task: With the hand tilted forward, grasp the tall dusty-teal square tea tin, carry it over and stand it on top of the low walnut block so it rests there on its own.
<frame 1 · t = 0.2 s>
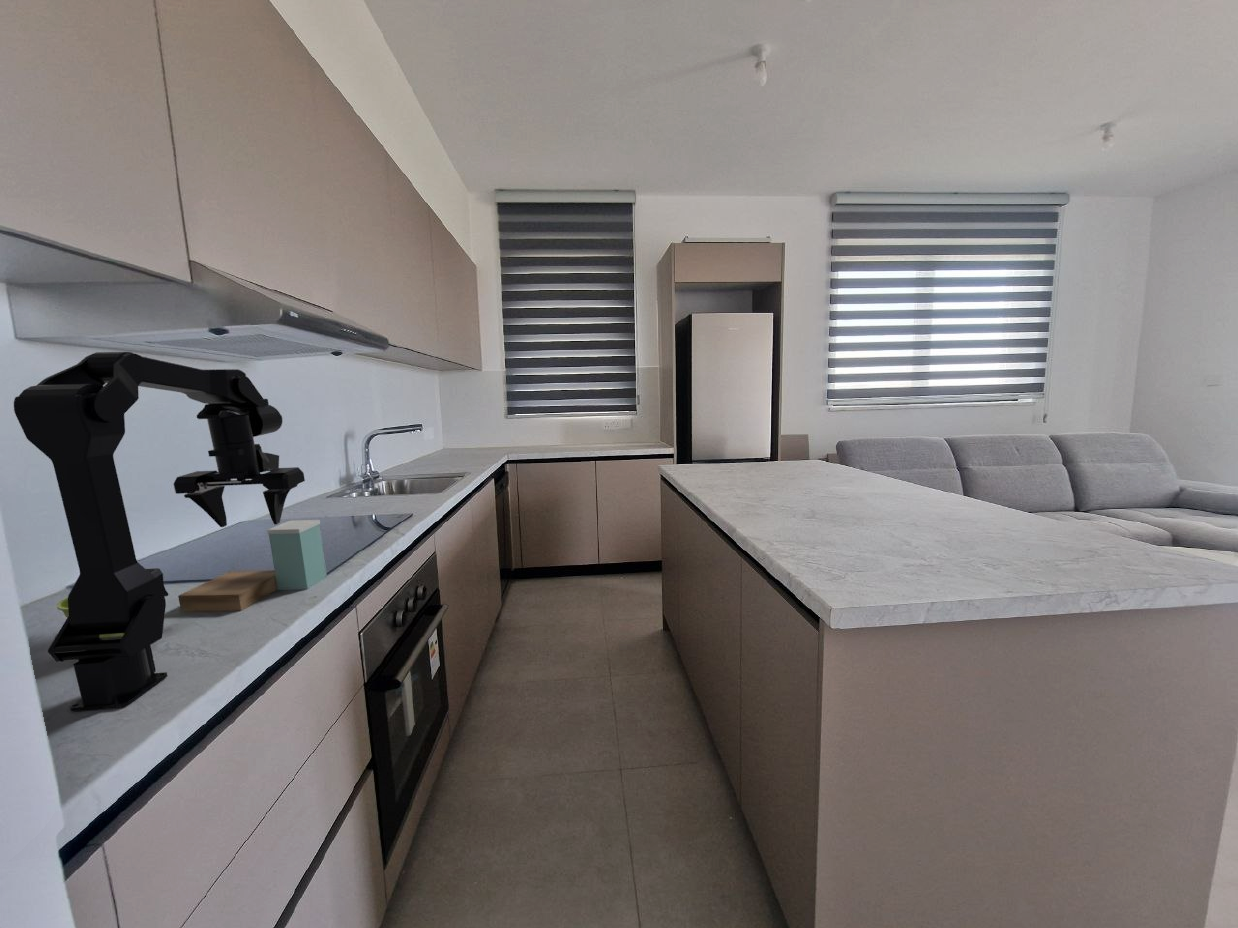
hand: (250, 525, 86), 14 cm above the counter, tool pointing down, fingers open, 9 cm apart
walnut block: (236, 596, 89), on the counter
tea tin: (303, 583, 95), on the counter
plant pot: (116, 647, 72), on the counter
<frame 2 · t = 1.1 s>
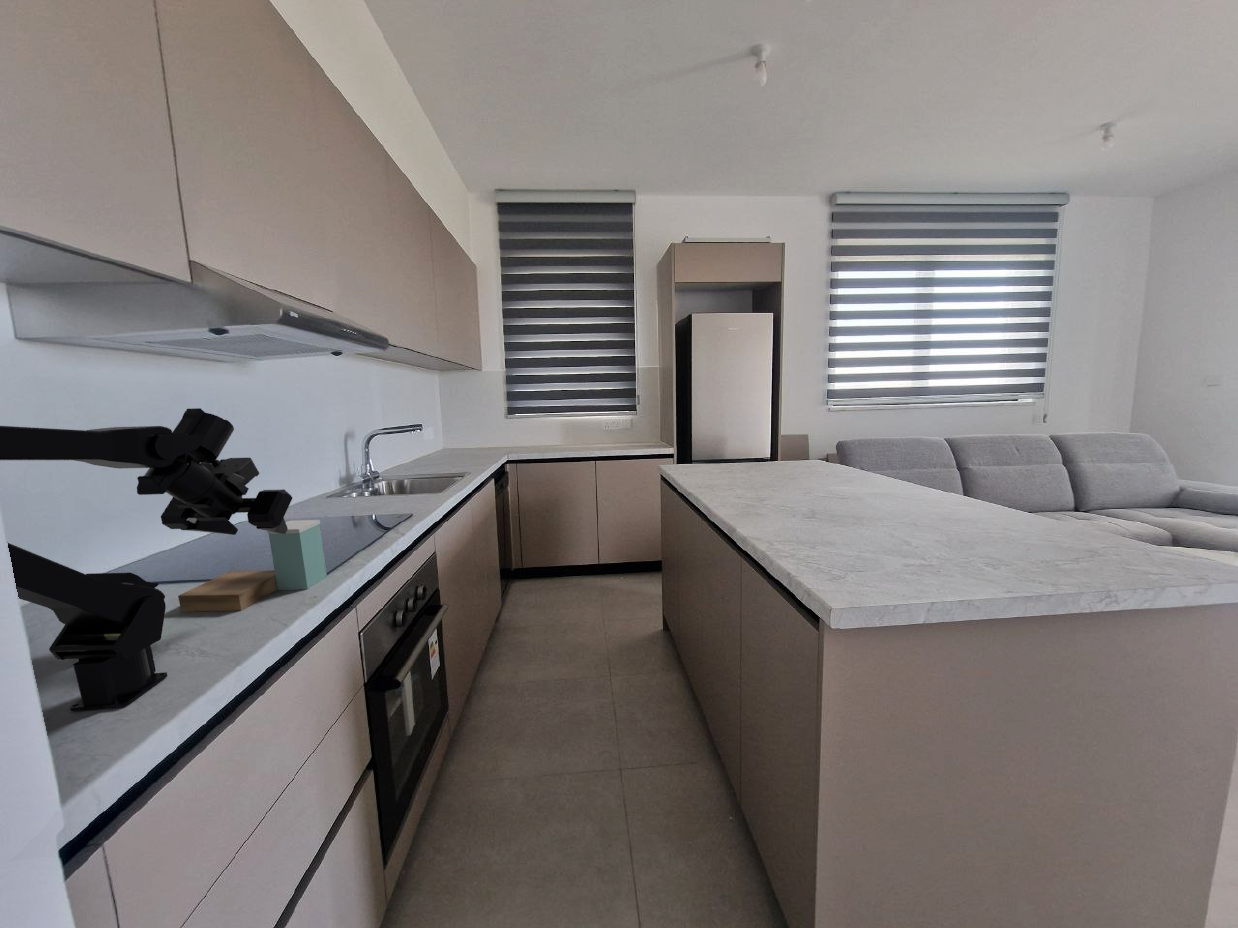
hand: (260, 531, 85), 13 cm above the counter, tool tilted 45°, fingers open, 9 cm apart
nothing on the counter moved.
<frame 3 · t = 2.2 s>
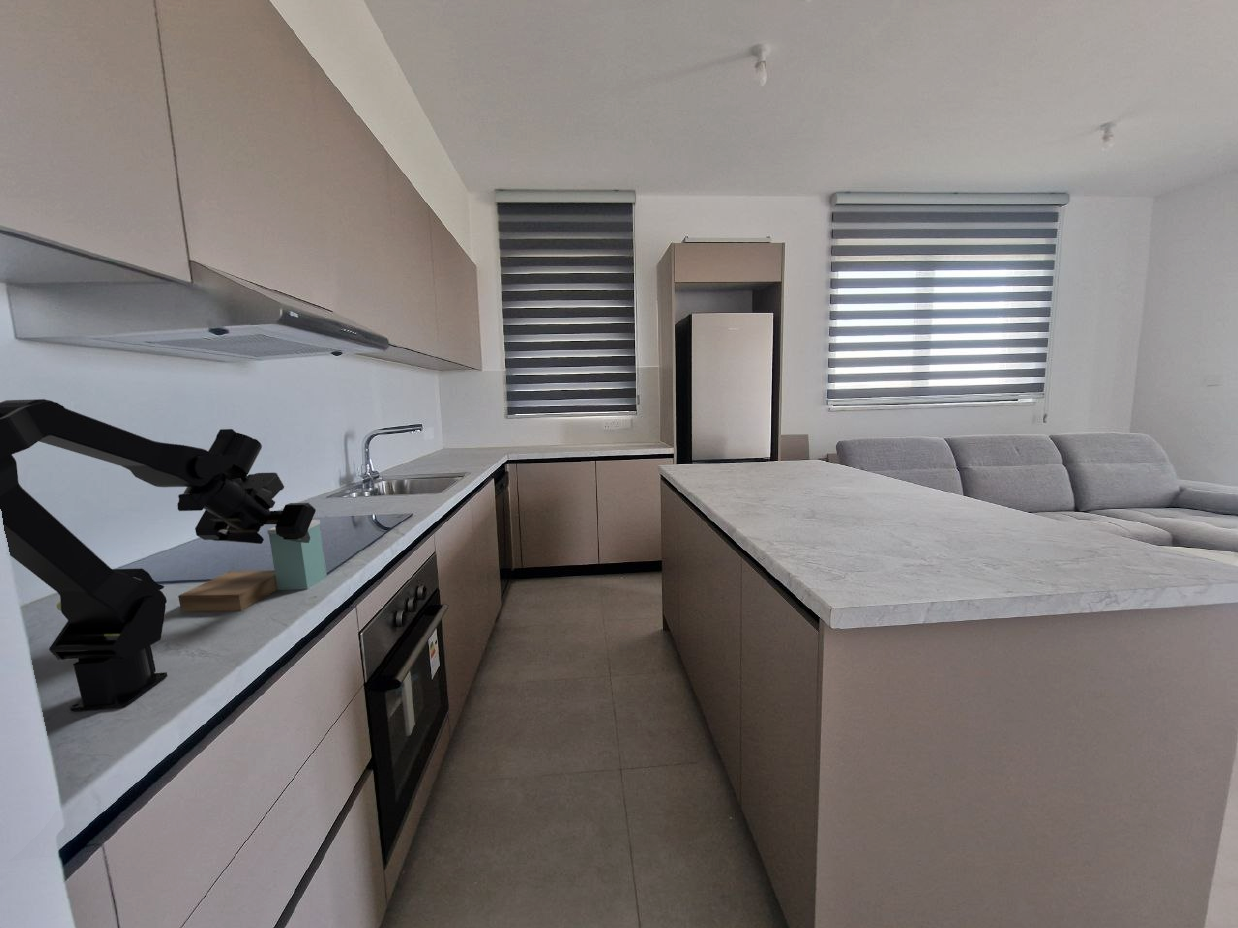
hand: (285, 541, 90), 10 cm above the counter, tool tilted 45°, fingers open, 9 cm apart
nothing on the counter moved.
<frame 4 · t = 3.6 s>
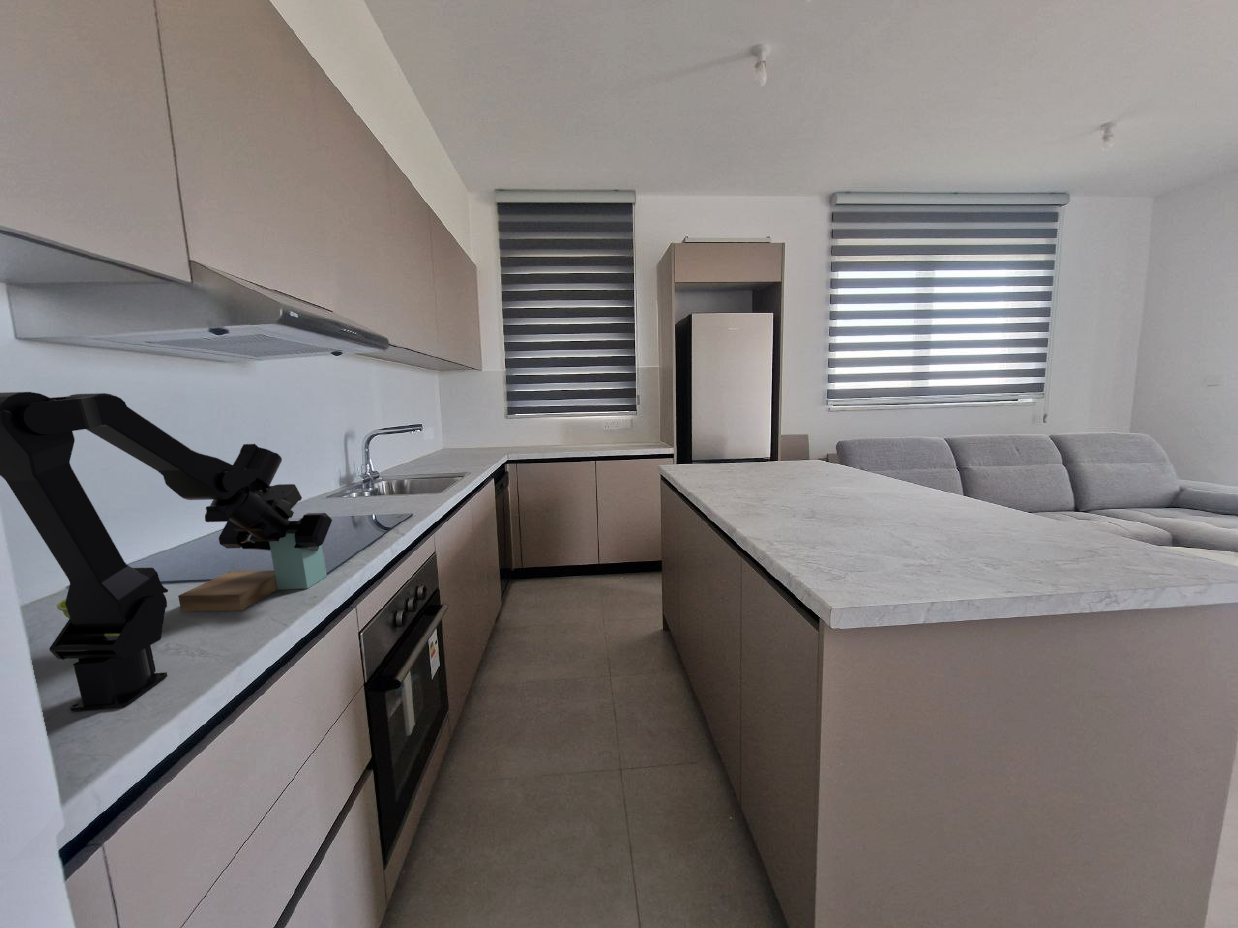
hand: (302, 549, 95), 7 cm above the counter, tool tilted 45°, fingers closed on tea tin, 6 cm apart
tea tin: (302, 582, 95), on the counter, touching gripper
everything else where it was.
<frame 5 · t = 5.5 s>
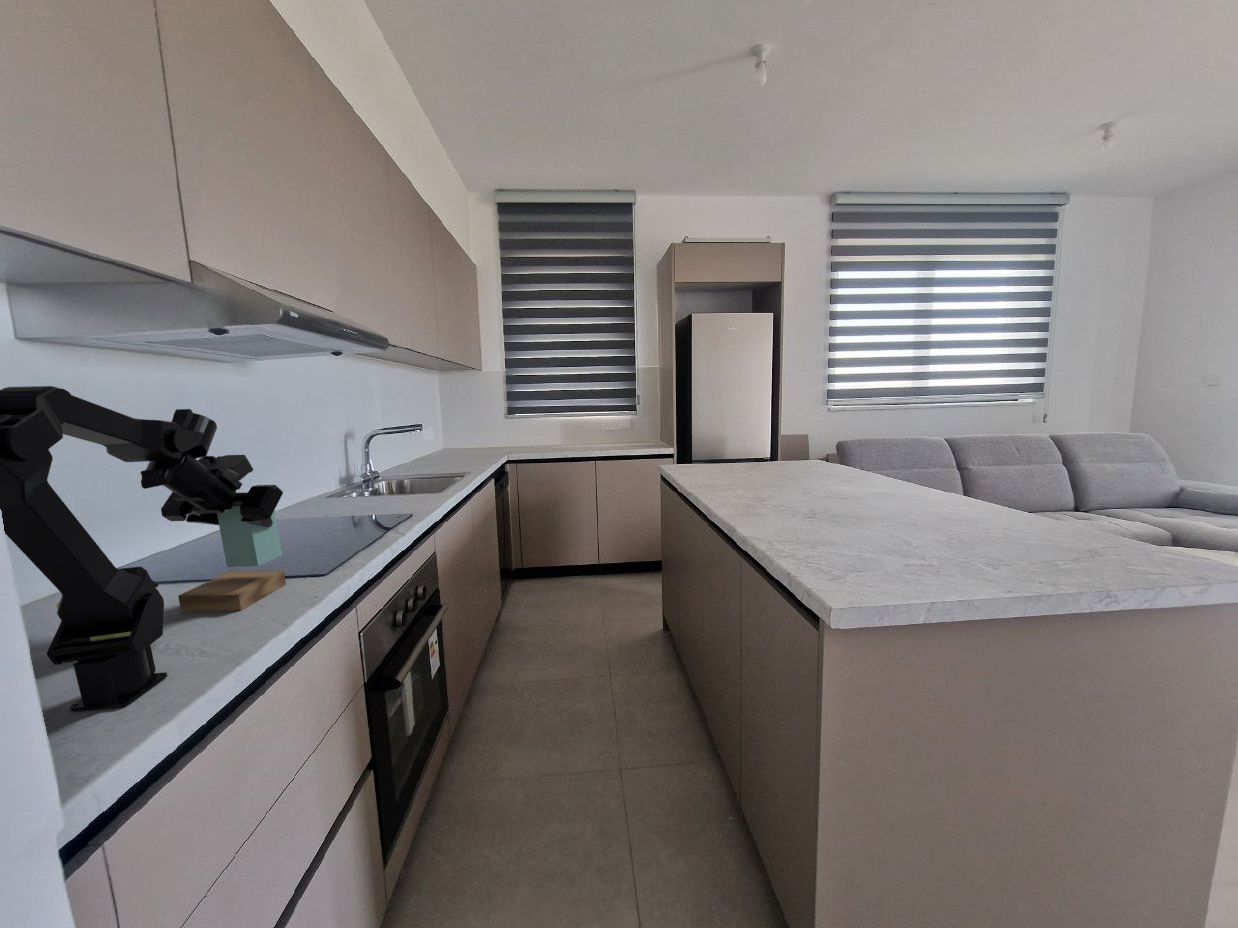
hand: (255, 525, 90), 13 cm above the counter, tool tilted 45°, fingers closed on tea tin, 6 cm apart
tea tin: (255, 560, 89), point 7 cm above the counter, touching gripper
everything else where it was.
when the fingers open (10 cm above the counter, at t = 7.1 s): tea tin stays where it is, resting on walnut block.
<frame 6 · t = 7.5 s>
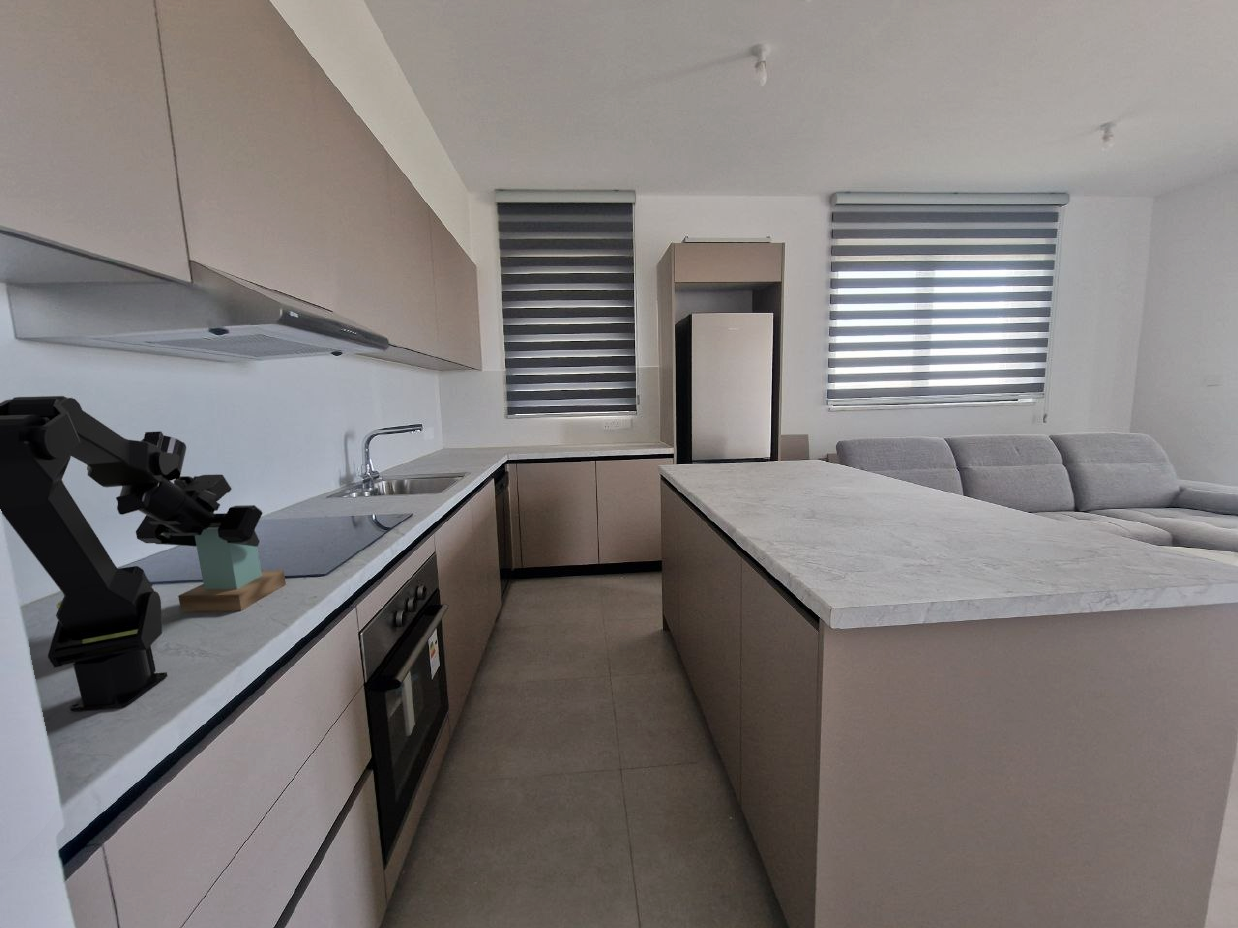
hand: (234, 544, 88), 10 cm above the counter, tool tilted 45°, fingers open, 9 cm apart
tea tin: (234, 582, 88), point 3 cm above the counter, touching walnut block
everything else where it was.
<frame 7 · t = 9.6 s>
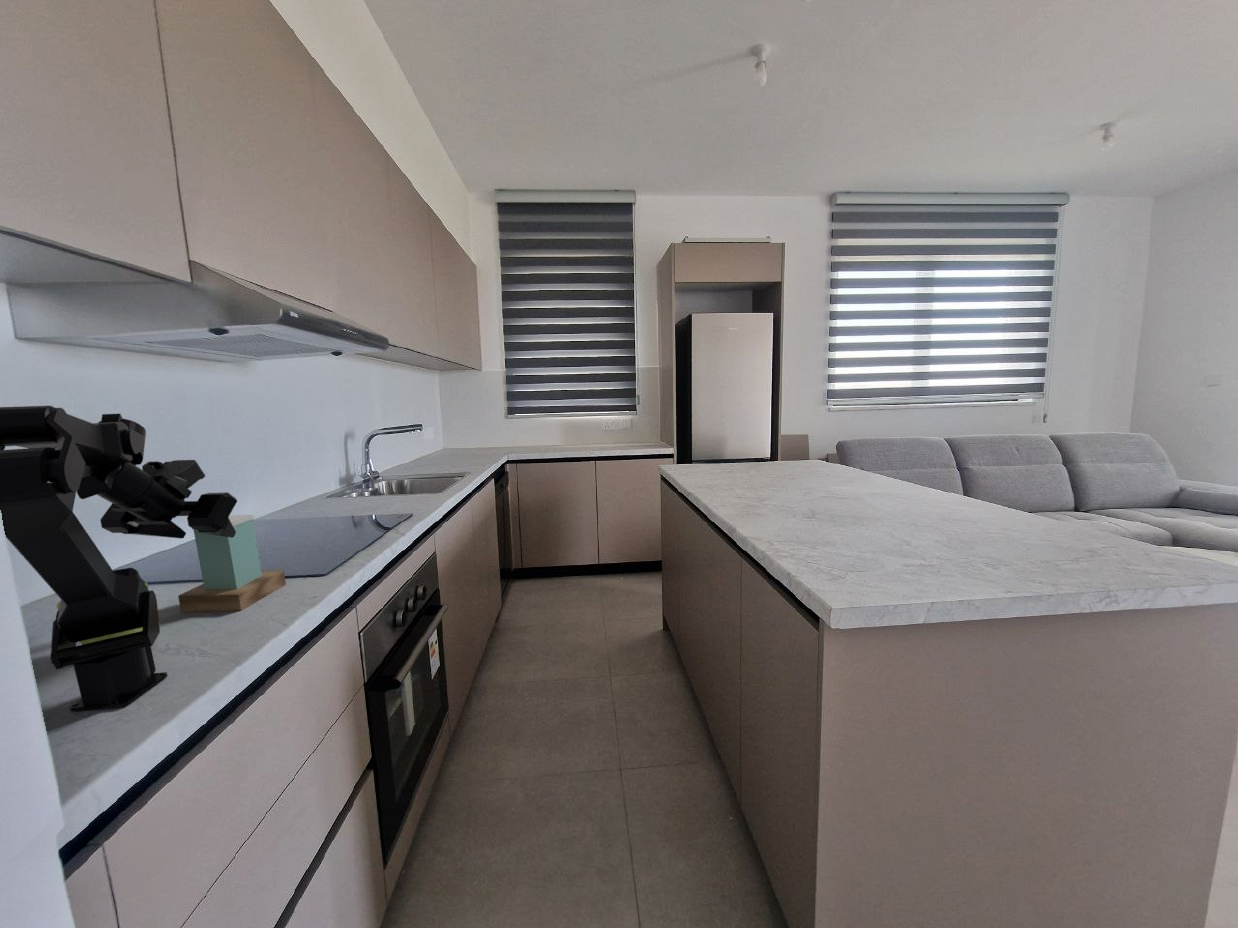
hand: (208, 535, 83), 13 cm above the counter, tool tilted 45°, fingers open, 9 cm apart
nothing on the counter moved.
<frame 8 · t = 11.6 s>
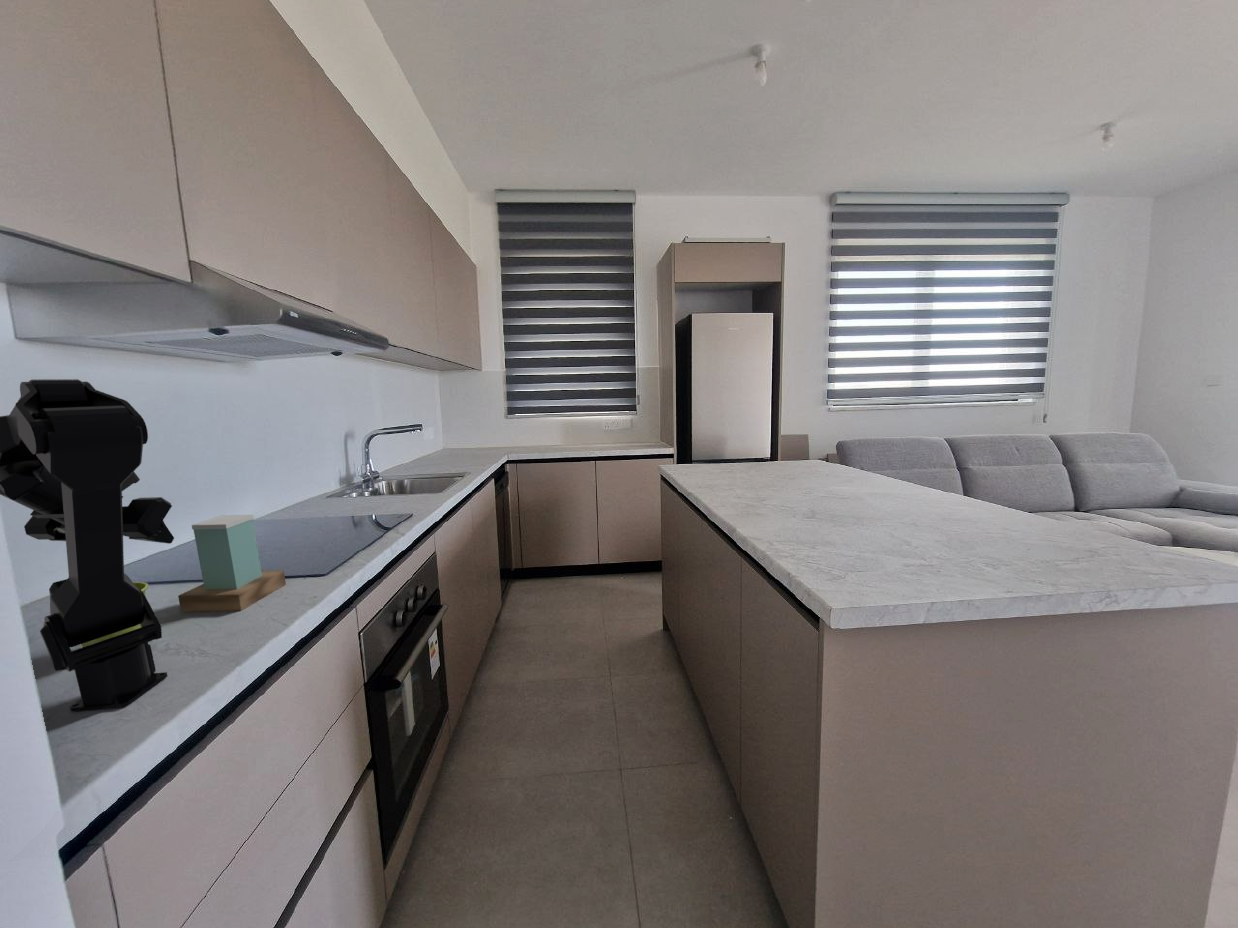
hand: (145, 541, 80), 14 cm above the counter, tool tilted 45°, fingers open, 9 cm apart
nothing on the counter moved.
at the end: tea tin inside the target area on the walnut block (0.1 cm from its centre), point 3.0 cm above the walnut block's base; tea tin tilted 0°; the gripper is holding nothing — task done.
